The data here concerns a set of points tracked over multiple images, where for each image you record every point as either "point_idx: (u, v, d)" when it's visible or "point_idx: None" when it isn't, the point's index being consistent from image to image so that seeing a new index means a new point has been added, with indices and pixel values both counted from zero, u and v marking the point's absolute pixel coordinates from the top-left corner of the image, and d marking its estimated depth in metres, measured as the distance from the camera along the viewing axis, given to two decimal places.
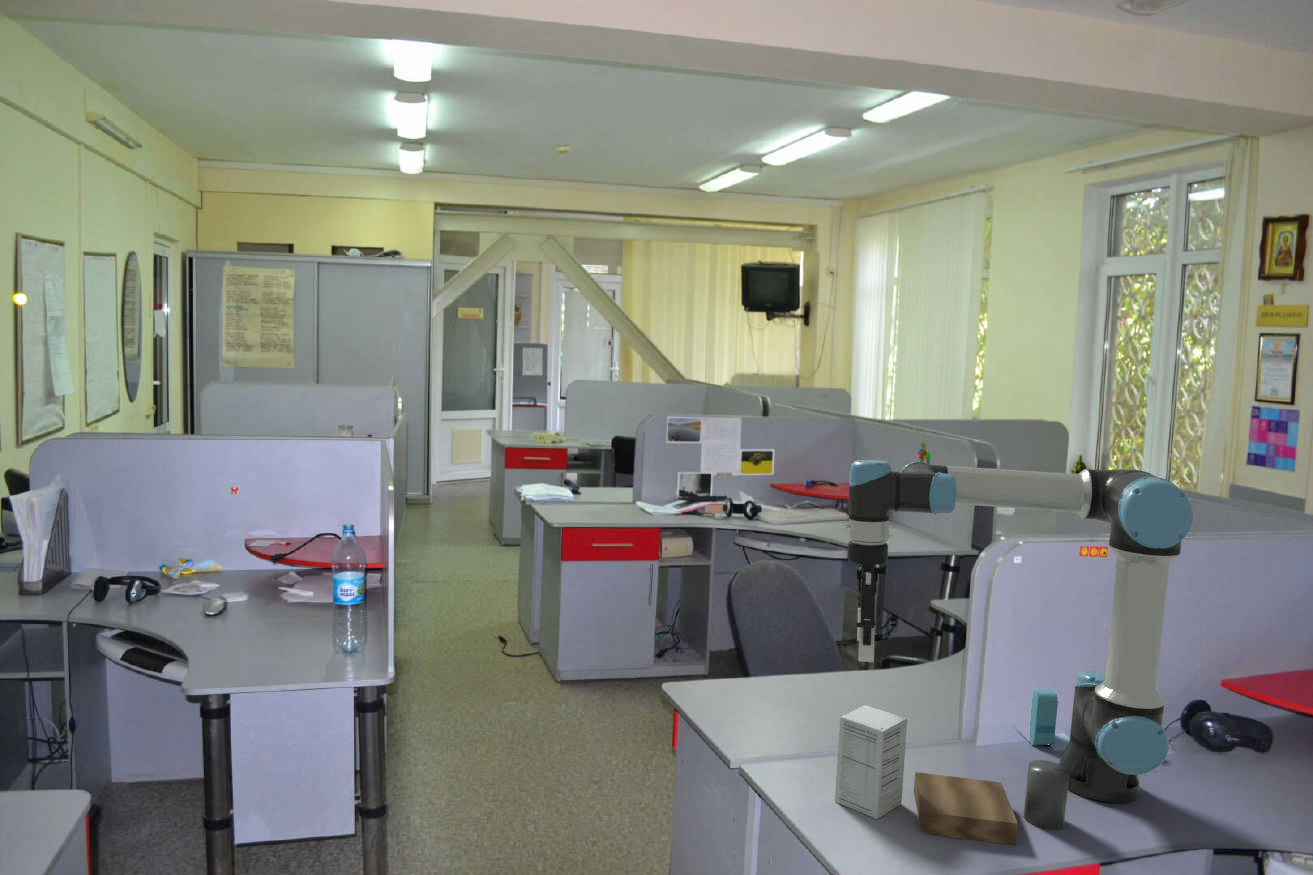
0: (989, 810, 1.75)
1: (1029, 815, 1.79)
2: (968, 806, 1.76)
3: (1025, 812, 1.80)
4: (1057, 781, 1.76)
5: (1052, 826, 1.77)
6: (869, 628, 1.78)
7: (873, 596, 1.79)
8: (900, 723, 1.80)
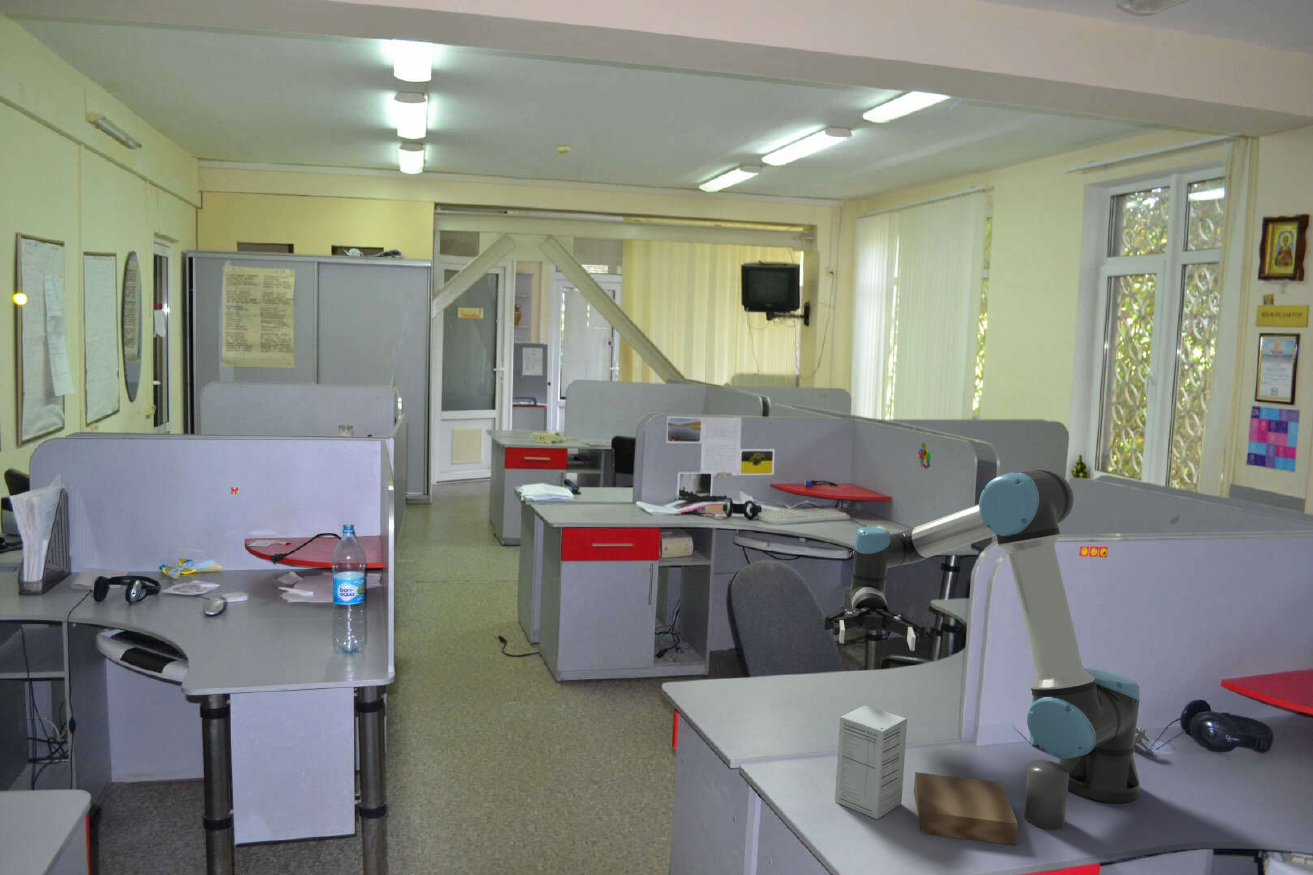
0: (989, 810, 1.75)
1: (1029, 815, 1.79)
2: (968, 806, 1.76)
3: (1025, 812, 1.80)
4: (1057, 781, 1.76)
5: (1052, 826, 1.77)
6: (832, 623, 1.99)
7: None
8: (900, 723, 1.80)
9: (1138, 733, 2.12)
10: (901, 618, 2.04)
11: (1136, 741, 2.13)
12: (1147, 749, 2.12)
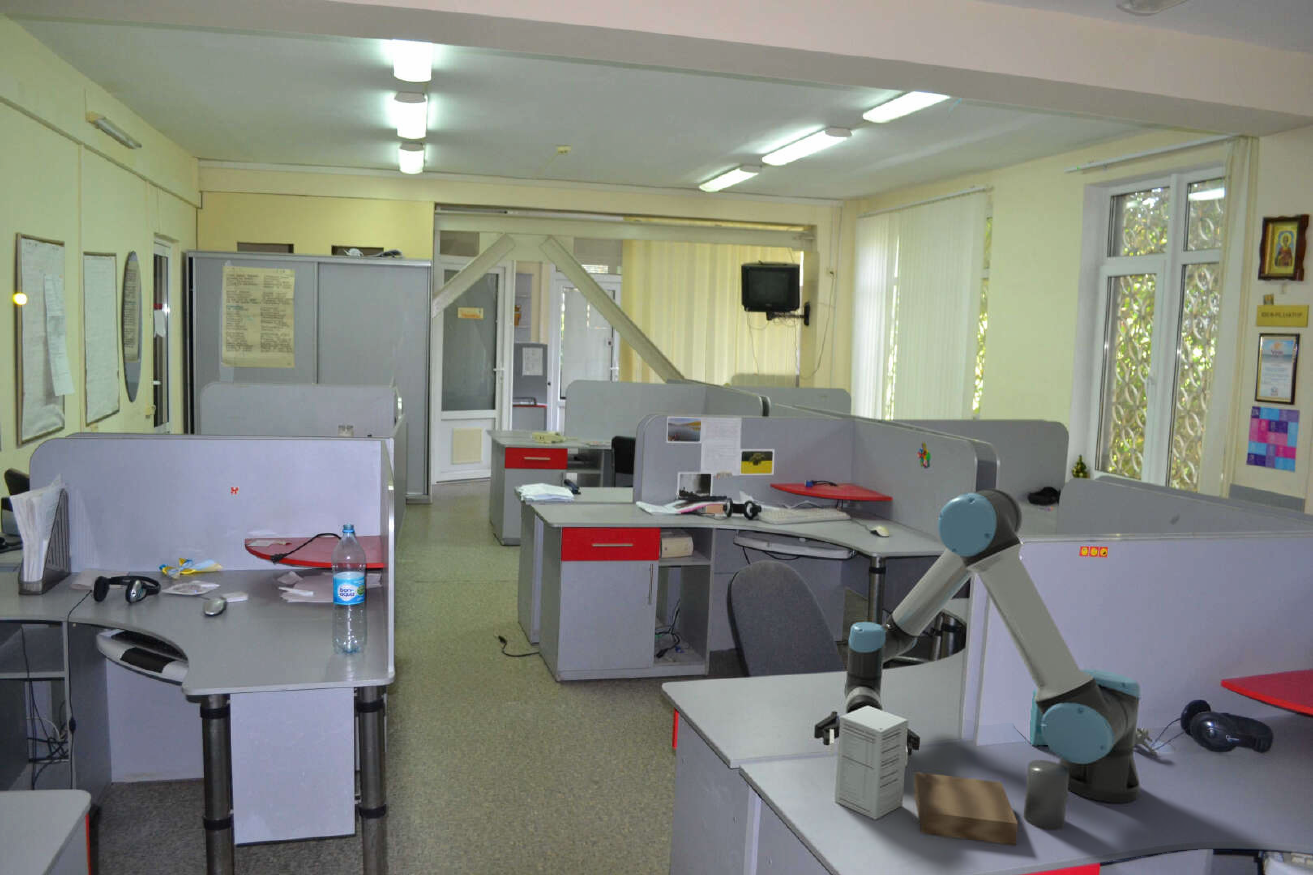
0: (989, 810, 1.75)
1: (1029, 815, 1.79)
2: (968, 806, 1.76)
3: (1025, 812, 1.80)
4: (1057, 781, 1.76)
5: (1052, 826, 1.77)
6: (822, 732, 1.92)
7: None
8: (900, 724, 1.80)
9: (1141, 733, 2.11)
10: None
11: (1139, 742, 2.12)
12: (1150, 749, 2.12)
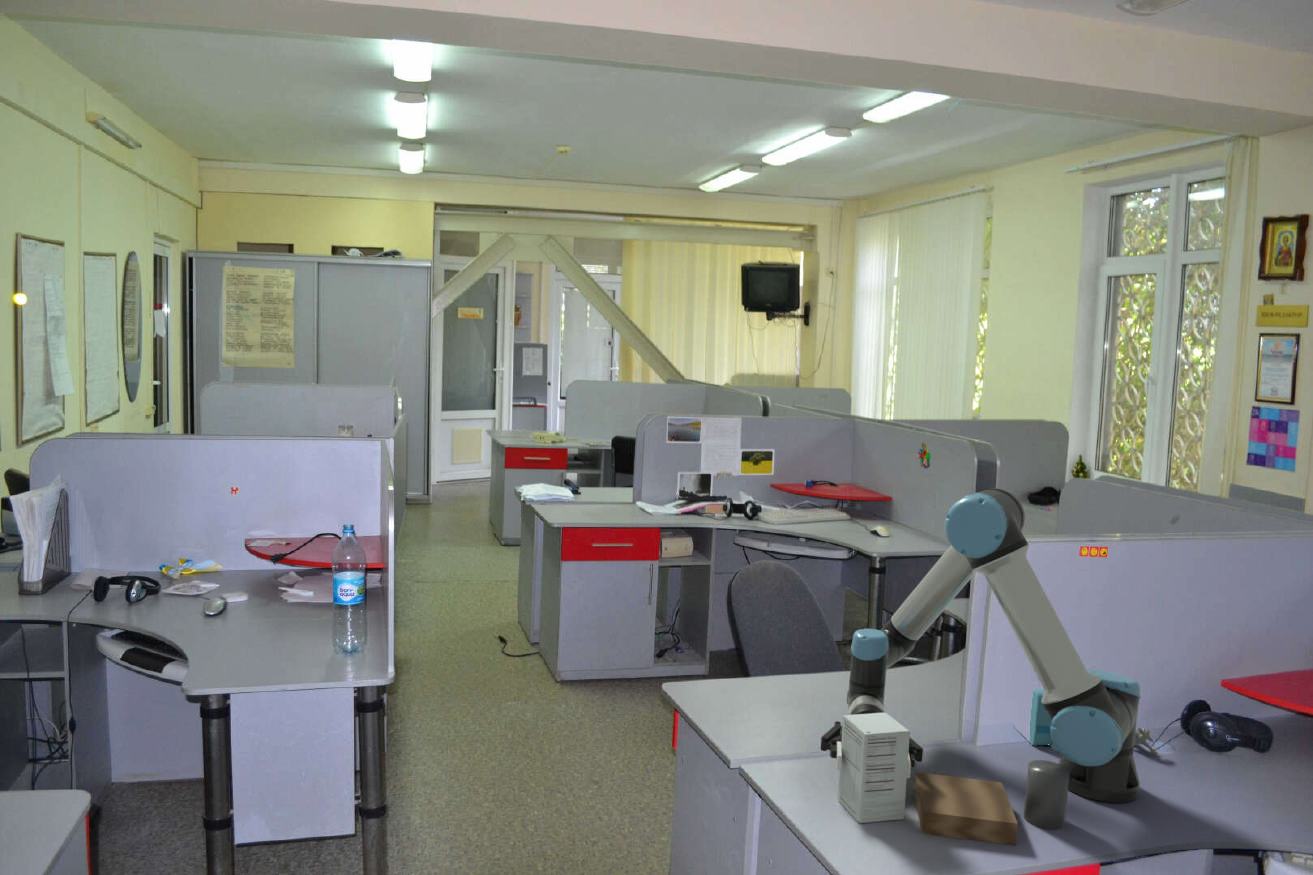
0: (989, 810, 1.75)
1: (1029, 815, 1.79)
2: (968, 806, 1.76)
3: (1025, 812, 1.80)
4: (1057, 781, 1.76)
5: (1052, 826, 1.77)
6: (829, 744, 1.86)
7: None
8: (897, 733, 1.76)
9: (1142, 734, 2.11)
10: None
11: (1140, 742, 2.12)
12: (1151, 750, 2.12)
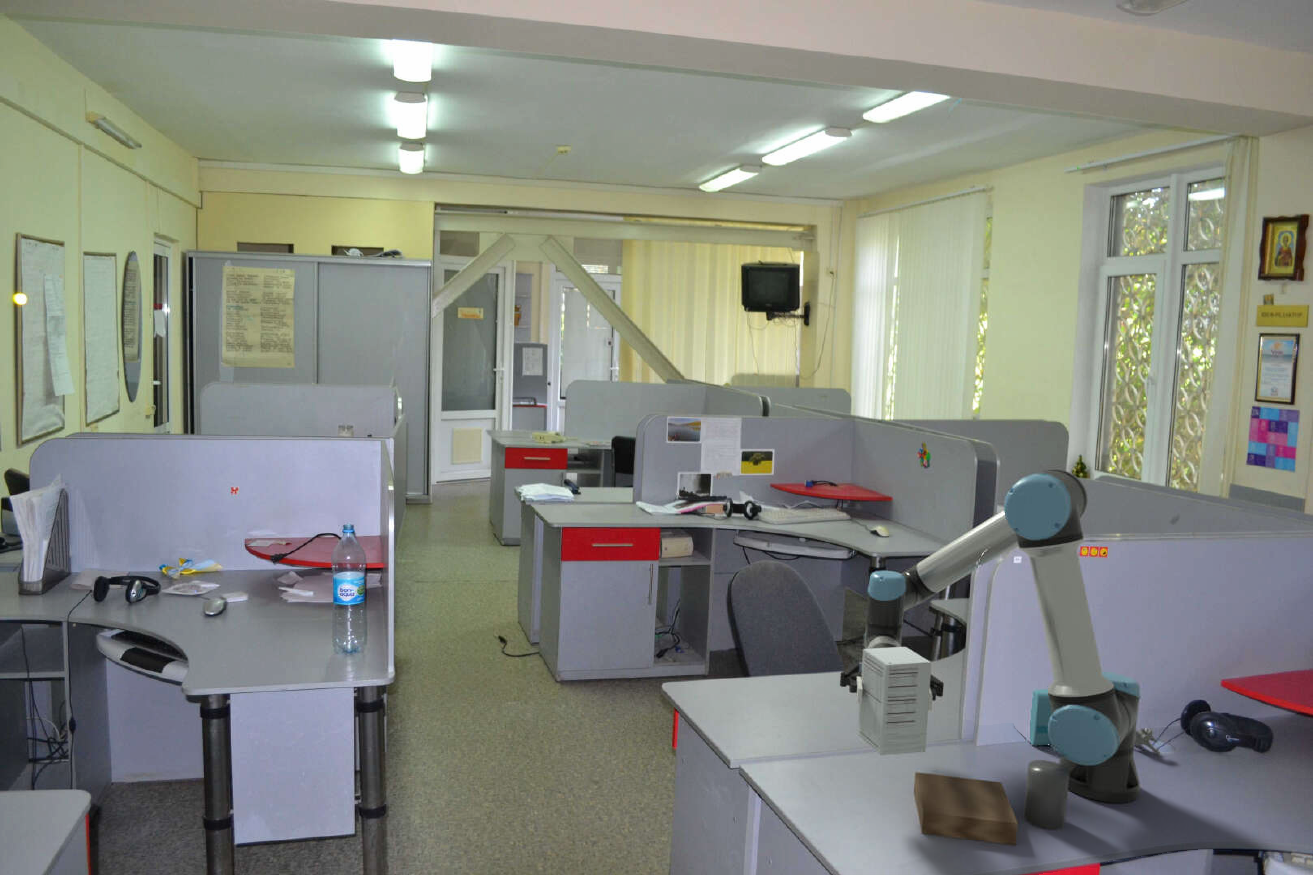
0: (989, 810, 1.75)
1: (1029, 815, 1.79)
2: (968, 806, 1.76)
3: (1025, 812, 1.80)
4: (1057, 781, 1.76)
5: (1052, 826, 1.77)
6: (849, 680, 1.85)
7: None
8: (918, 664, 1.74)
9: (1145, 734, 2.11)
10: None
11: (1143, 742, 2.12)
12: (1154, 750, 2.12)
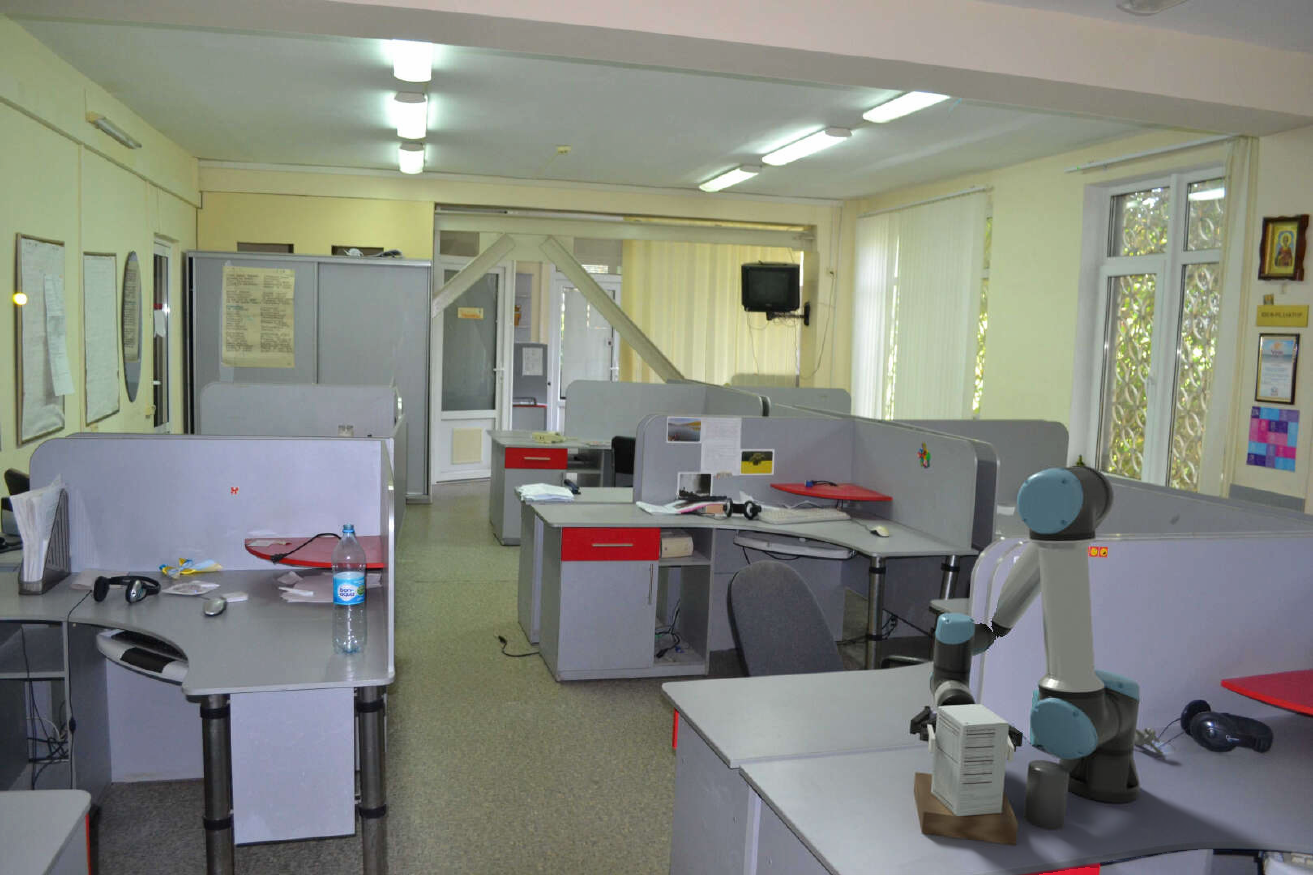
0: None
1: (1029, 815, 1.79)
2: None
3: (1025, 812, 1.80)
4: (1057, 781, 1.76)
5: (1052, 826, 1.77)
6: (919, 728, 1.83)
7: None
8: (996, 724, 1.72)
9: (1148, 734, 2.11)
10: None
11: (1146, 742, 2.12)
12: (1156, 749, 2.12)
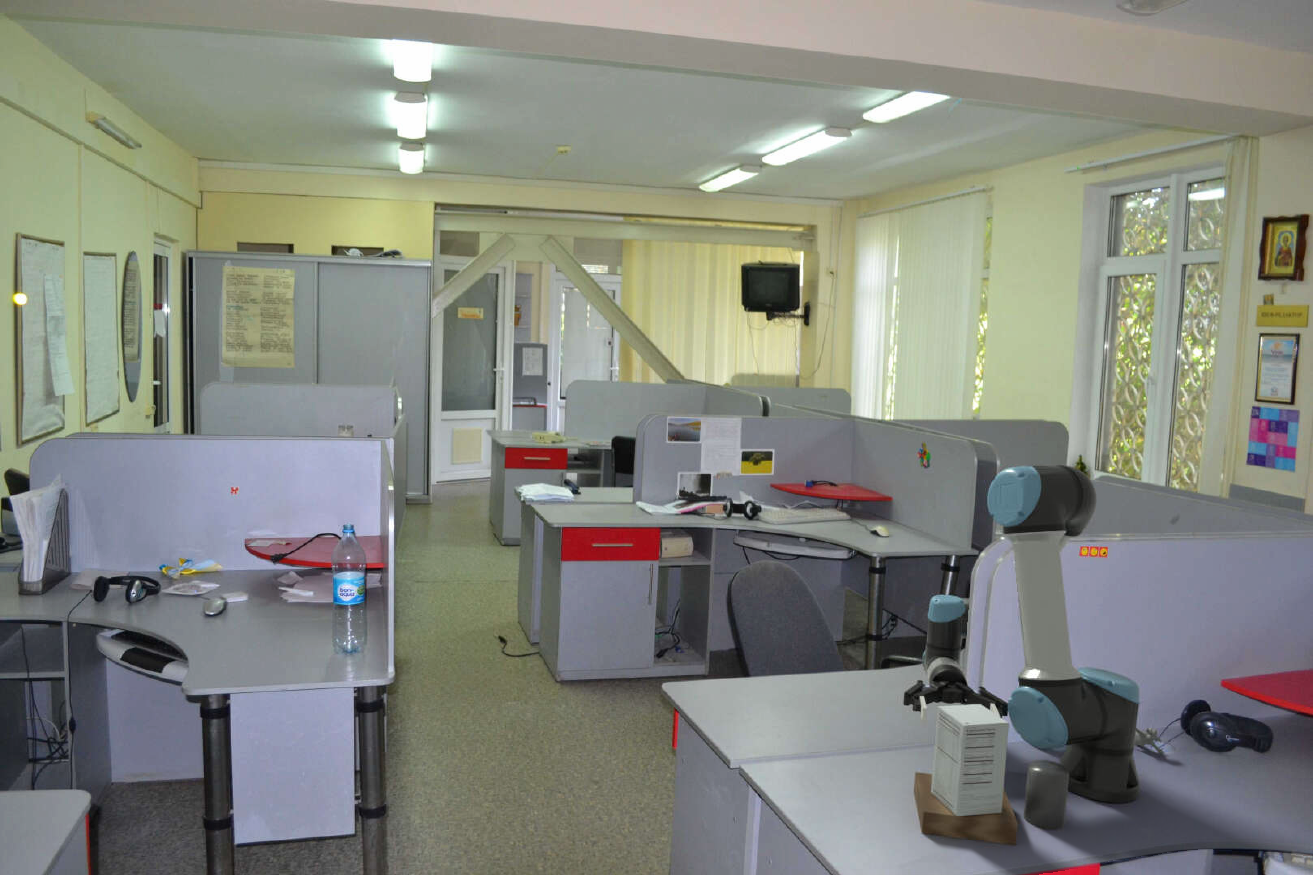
0: None
1: (1029, 815, 1.79)
2: None
3: (1025, 812, 1.80)
4: (1057, 781, 1.76)
5: (1052, 826, 1.77)
6: (912, 699, 1.96)
7: (913, 686, 2.01)
8: (996, 725, 1.72)
9: (1150, 734, 2.11)
10: (981, 692, 2.01)
11: (1148, 742, 2.12)
12: (1158, 749, 2.13)
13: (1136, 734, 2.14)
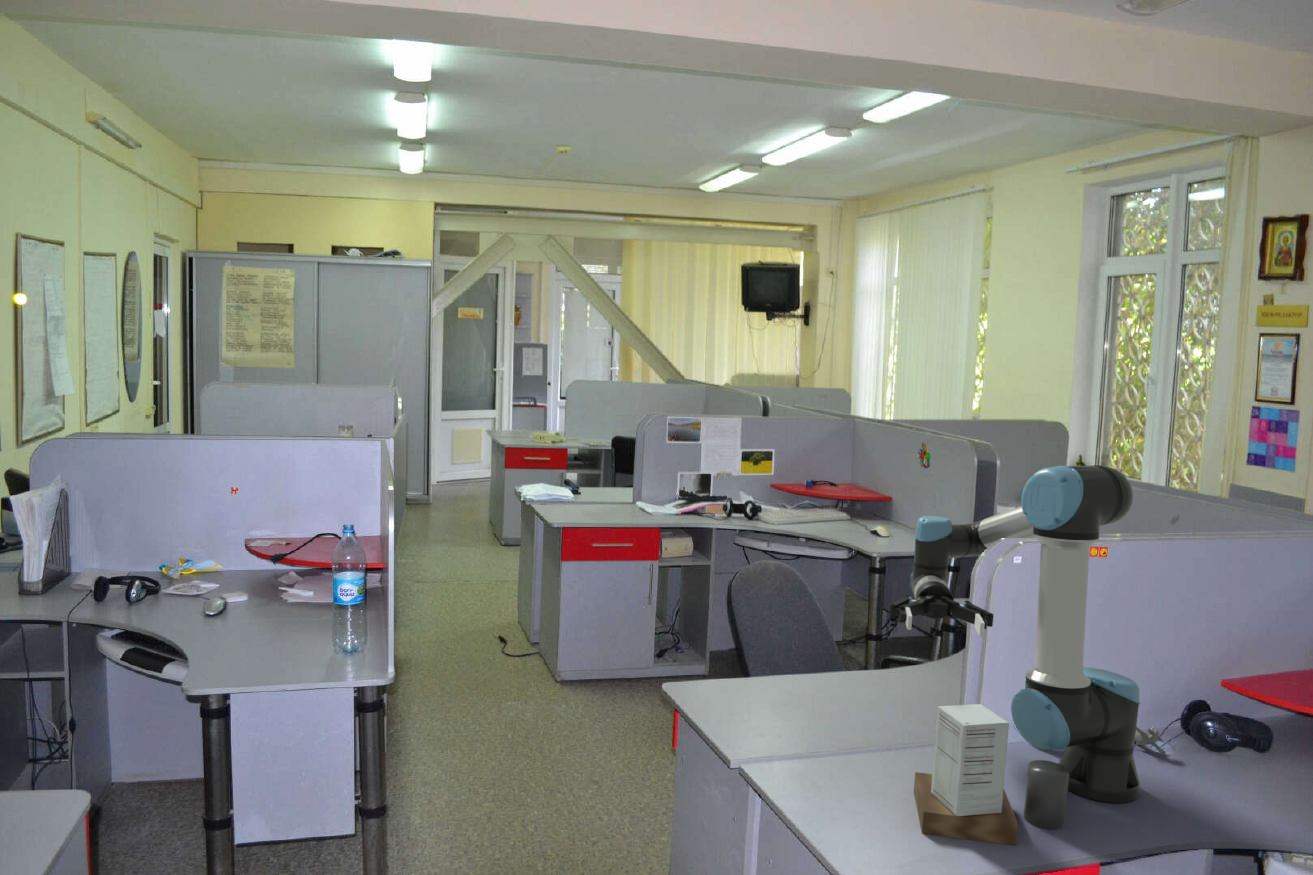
0: None
1: (1029, 815, 1.79)
2: None
3: (1025, 812, 1.80)
4: (1057, 781, 1.76)
5: (1052, 826, 1.77)
6: (898, 610, 1.97)
7: (899, 600, 2.03)
8: (996, 724, 1.72)
9: (1152, 734, 2.11)
10: (967, 606, 2.02)
11: (1150, 742, 2.12)
12: (1159, 749, 2.13)
13: (1137, 734, 2.15)
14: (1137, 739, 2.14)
